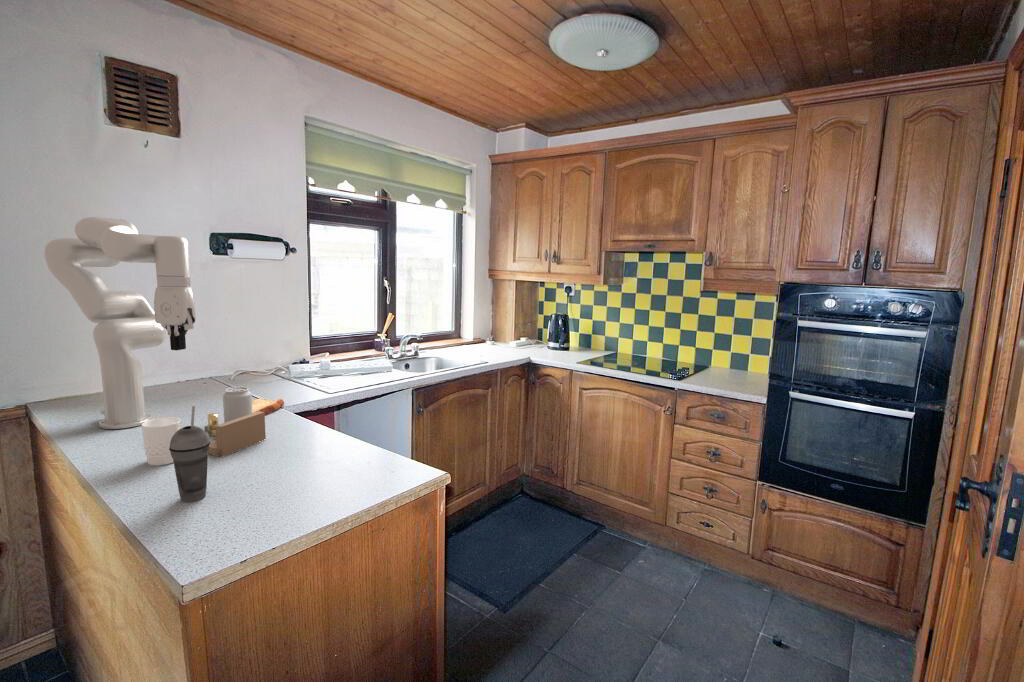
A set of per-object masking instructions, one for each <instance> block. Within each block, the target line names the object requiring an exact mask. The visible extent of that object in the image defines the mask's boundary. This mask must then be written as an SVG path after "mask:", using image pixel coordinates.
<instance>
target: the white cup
mask: <svg viewBox="0 0 1024 682" xmlns="http://www.w3.org/2000/svg"><path fill="white" fill-rule="evenodd" d="M181 424H182V423H181V419H180V418H179V417H173V416H170V417H168V416H167V417H158V418H152V420H148V421H146V422H144V423H142V424H141V425H140V426H141V431H142V438H143V445H144V446H143V447H144V450H145V451H144V452H145V454H146V460H147V464H148V465H150V466H165V465H170V464H174V462H173V458H172V456H171V453H170V450H169V447H170V441H171V438H172V436H173V435H174V434H175V433H176V432H177V431H178V430H179V429H181V426H182V425H181Z"/></svg>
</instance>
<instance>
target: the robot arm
mask: <svg viewBox="0 0 1024 682" xmlns="http://www.w3.org/2000/svg"><path fill="white" fill-rule="evenodd" d="M74 234H75V236H76V237H63V238H55V239H53V240H50V241H49V242H47V243H46V245H45V247H44V253H43V254H44V260H45V264H46V266H47V267H48V269H49V271H50V272H51V274H52V276H54V278H55V279H56V280H57V281H58V282H59V283H60V284H61V285H62V286H63V287H64V288H65V289H66V290H67V291H68V292H69V294H70V296H71V298H73V300H74V302H75V303H76V305H77V306H78V307H79V309H80V310H81V312H82V313H83V315H84V316H85V317H86V319H87V320H88V321H90V323H91V322H92V323H93V324H94V323H95V324H96V325H95V326H94V328H93V330H92V338H93V341H94V344H95V347H96V350H97V353H98V358H99V359H98V360H99V364H100V374H101V383H102V384H101V385H102V394H103V395H102V396H103V403H104V404H103V405H104V408H103V409H101V410H100V411H99V413H100V414H101V415H104V417H103V419H102V420H100V421H99V422H98V427H99V428H102V429H106V430H120V429H122V430H123V429H129V428H134V427H138V426H142V425H141V424H142V423H144V422H146V421H148V420H152V419H153V415H151V414H150V413H146V406H145V396H144V395H145V392H144V384H143V383H144V382H143V380H144V379H143V371H142V370H143V369H142V363H141V361H140V359H138V358H137V356H136V355H134V353H133V352H132V351H135V350H142V349H148V348H154V347H158V346H160V345H162V344H163V343H164V342H165V339H166V337H167V335H166V331H167V334H168V336H169V344H170V345H169V346H170V350H171V351H181V350H186V349H187V345H186V336H187V334H188V331H189V330H193V329H194V324H195V323H196V320H197V319H196V317H197V316H196V315H197V314H196V305H195V299H194V294H193V290H192V287H191V273H190V257H189V254H190V253H189V242H188V240H187V239H186V238H185V237H183V236H174V235H173V236H172V235H154V234H143V233H142V234H140V233H139V231H138V229H137V228H136V226H135V224H133V223H132V222H131V221H128V220H125V219H122V218H121V219H120V218H112V217H109V218H108V217H101V216H88V217H83V218H81V219H80V220H78V221H77V222H76V224H75V226H74ZM121 262H123V263H134V264H135V263H140V264H141V263H142V264H143V263H145V264H155V272H156V273H155V274H156V275H155V276H156V287H155V290H154V295H153V296H154V297H153V299H154V301H153V307H152V306H151V305H150V303H149V302H148V301H147V299H146V298H145V296H143V295H142V294H140V293H138V292H136V291H132V290H131V291H130V290H120V291H119V290H118V291H117V290H111V289H109V288H108V286H106V285H105V283H104V281H103V280H102V279H101V278H100V277H99V276H98V275H96V274H95V273H93V272H91V271H90V270H87V269H85V268H95V267H96V268H109V267H115V266H117V265H118V264H120V263H121Z"/></svg>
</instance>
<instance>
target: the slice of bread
mask: <svg viewBox="0 0 1024 682" xmlns="http://www.w3.org/2000/svg"><path fill="white" fill-rule="evenodd" d="M283 405H285V401H284V400H283V399H282V398H278V399H277V400H270V399H269V400H268V399H266V398H255V399H254V400H253V399H252V413H255V412H258V411H260V412H265V416H268V415H270V414H272V413H274V412H276V411H277V410H279V409H280V408H282V406H283Z"/></svg>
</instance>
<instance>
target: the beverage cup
mask: <svg viewBox="0 0 1024 682" xmlns="http://www.w3.org/2000/svg"><path fill="white" fill-rule="evenodd" d="M195 410H196V405H192V406H191V418H190V419H191V420H190V423H191V426H186V427H183V428H181V429H179V430H178V431H177V432H176V433H175V434H174V435H173V436H172V438H171V441H170V447H169V450H170V453H171V456H172V458H173V466H174V471H175V472H174V473H175V476H176V477H175V478H176V483H177V489H178V494H179V497H180V501H181V502H183V503H194V502H197V501H200V500H202V499H204V498H205V497H207V496H206V494H207V483H208V463H209V462H208V456H209V454H208V453H209V445H210V441H209V437H208V435H207V433H206V432H205V431H204V430H203V429H201V428H200V427H197V426H194V422H195Z"/></svg>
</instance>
